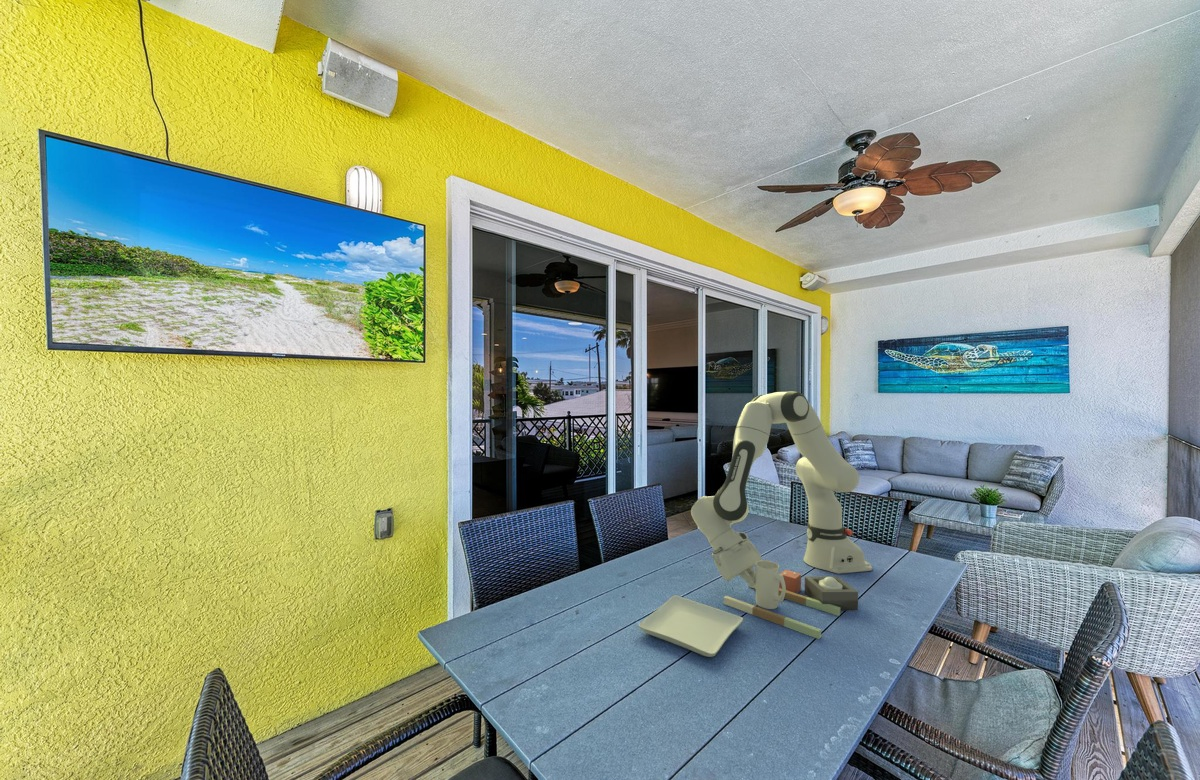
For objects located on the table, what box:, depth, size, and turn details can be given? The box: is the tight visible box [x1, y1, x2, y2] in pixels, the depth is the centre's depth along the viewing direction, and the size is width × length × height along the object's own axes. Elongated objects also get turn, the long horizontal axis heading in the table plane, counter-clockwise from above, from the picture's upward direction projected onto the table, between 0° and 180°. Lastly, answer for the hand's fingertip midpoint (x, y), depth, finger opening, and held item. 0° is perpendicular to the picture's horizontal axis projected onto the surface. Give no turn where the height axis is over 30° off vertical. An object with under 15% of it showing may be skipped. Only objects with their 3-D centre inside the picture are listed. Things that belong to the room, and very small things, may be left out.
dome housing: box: [804, 576, 859, 612], centre depth 136 cm, size 11×11×6 cm
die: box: [779, 569, 802, 594], centre depth 145 cm, size 5×5×5 cm
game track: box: [723, 584, 841, 640], centre depth 132 cm, size 27×18×2 cm, turn 46°
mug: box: [754, 559, 786, 610], centre depth 133 cm, size 10×7×12 cm, turn 27°
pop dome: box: [819, 576, 842, 589], centre depth 136 cm, size 6×6×4 cm
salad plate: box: [638, 594, 744, 658], centre depth 119 cm, size 21×21×3 cm
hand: (755, 584), depth 137 cm, fingers closed
